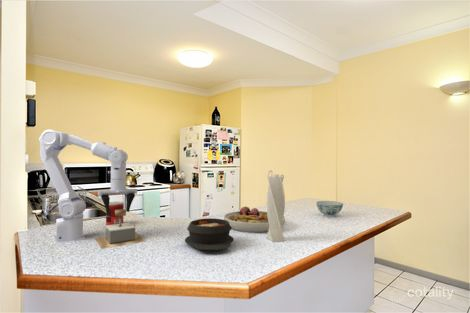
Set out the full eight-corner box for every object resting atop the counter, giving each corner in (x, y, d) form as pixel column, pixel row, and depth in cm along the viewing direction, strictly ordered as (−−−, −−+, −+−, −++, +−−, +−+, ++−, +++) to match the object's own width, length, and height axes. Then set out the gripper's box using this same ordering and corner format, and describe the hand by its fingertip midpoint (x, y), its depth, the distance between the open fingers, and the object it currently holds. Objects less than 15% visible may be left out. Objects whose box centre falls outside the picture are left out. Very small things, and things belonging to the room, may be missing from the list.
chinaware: (345, 215, 161) (345, 202, 161) (340, 219, 148) (340, 205, 148) (319, 212, 169) (319, 200, 169) (313, 216, 156) (313, 203, 156)
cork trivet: (101, 250, 94) (101, 248, 94) (94, 239, 107) (94, 238, 107) (147, 242, 103) (147, 241, 103) (135, 233, 116) (135, 232, 116)
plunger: (112, 232, 100) (112, 212, 101) (108, 228, 106) (109, 209, 106) (131, 229, 104) (132, 210, 105) (127, 226, 110) (127, 208, 110)
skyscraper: (262, 237, 111) (262, 170, 112) (278, 236, 114) (278, 170, 114) (271, 243, 104) (272, 171, 104) (288, 241, 106) (288, 170, 107)
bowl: (297, 231, 124) (297, 214, 124) (237, 237, 113) (237, 218, 113) (266, 218, 152) (266, 204, 152) (215, 222, 141) (216, 207, 141)
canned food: (126, 223, 135) (126, 201, 135) (117, 227, 127) (118, 204, 127) (111, 223, 135) (112, 201, 136) (102, 227, 127) (102, 203, 128)
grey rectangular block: (110, 244, 99) (110, 230, 99) (105, 238, 106) (105, 225, 106) (137, 240, 105) (137, 226, 105) (131, 234, 112) (131, 222, 112)
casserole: (183, 236, 112) (183, 216, 112) (226, 234, 117) (226, 214, 117) (186, 257, 88) (187, 231, 88) (241, 253, 92) (241, 229, 93)
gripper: (100, 180, 102) (100, 216, 102) (139, 179, 111) (139, 212, 110) (97, 179, 108) (96, 213, 107) (134, 178, 116) (134, 209, 116)
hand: (117, 212), depth 109 cm, fingers open, 7 cm apart
